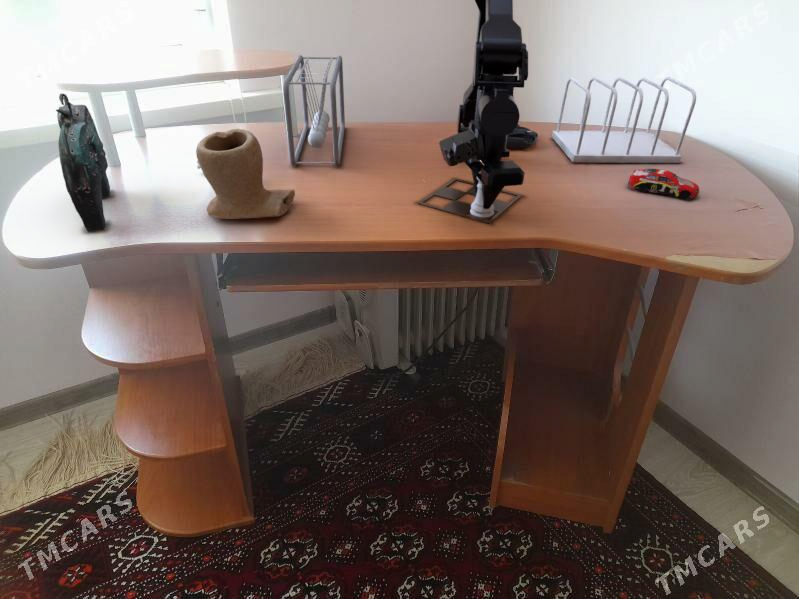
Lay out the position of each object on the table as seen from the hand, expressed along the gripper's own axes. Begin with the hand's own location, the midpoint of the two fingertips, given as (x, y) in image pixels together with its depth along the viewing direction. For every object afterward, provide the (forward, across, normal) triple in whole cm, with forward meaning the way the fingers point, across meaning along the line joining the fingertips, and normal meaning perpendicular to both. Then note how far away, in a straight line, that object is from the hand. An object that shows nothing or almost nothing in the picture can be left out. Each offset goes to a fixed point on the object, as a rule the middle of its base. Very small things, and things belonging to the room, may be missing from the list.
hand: (482, 204), depth 99 cm
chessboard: (+2, -6, 0) cm, 7 cm away
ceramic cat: (+2, -14, -69) cm, 70 cm away
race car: (+2, -4, +40) cm, 40 cm away
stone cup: (+2, -7, -42) cm, 42 cm away
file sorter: (+2, -28, +42) cm, 51 cm away
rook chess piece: (+2, 0, 0) cm, 2 cm away
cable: (+2, -39, +18) cm, 43 cm away
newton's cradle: (+2, -42, -26) cm, 50 cm away
